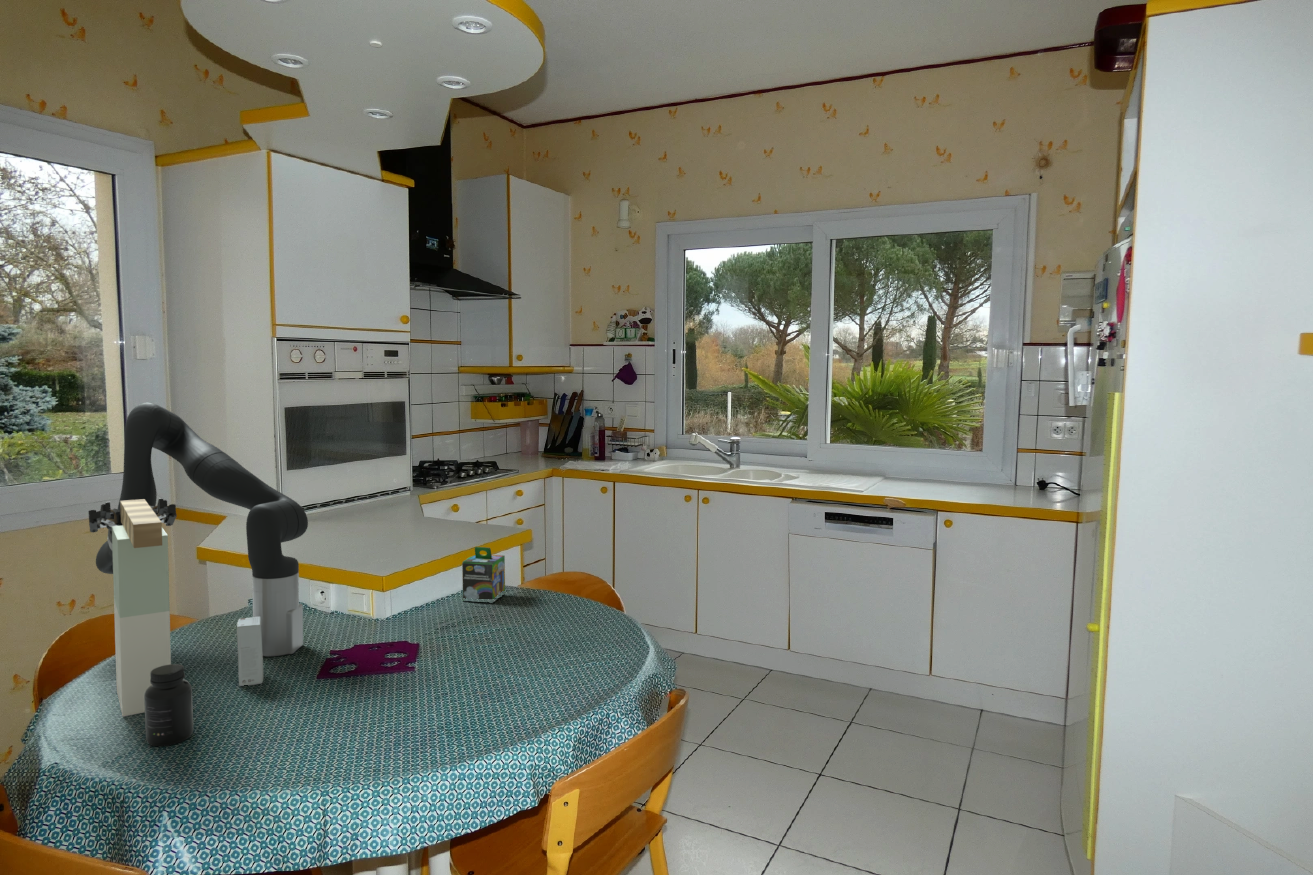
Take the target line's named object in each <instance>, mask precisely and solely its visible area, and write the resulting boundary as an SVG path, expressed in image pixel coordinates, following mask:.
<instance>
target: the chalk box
mask: <svg viewBox="0 0 1313 875" xmlns="http://www.w3.org/2000/svg"><path fill="white" fill-rule="evenodd" d="M491 550H492V548H491V547H486V546H475V547H474V554H475V555H472V556H469V557H467V558H466V559H465V560H463V561H462V562H461V563H462V564H461V568H462V570H461V571H462V572H461V573H462V599H463V598H465V599H466V598H468V599H470V598H473V599H494V598H495V597H496V596H497V595H499V594H500V593H501V592H502V591H505V592H506V569H505V568H506V566H505V565H506V564H505V563H506V561H505V560H506V559H505V558H506V557H505V555H501V554H492V551H491ZM481 552H485V553H486V554H481Z"/></svg>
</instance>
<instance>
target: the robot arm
mask: <svg viewBox="0 0 1313 875" xmlns="http://www.w3.org/2000/svg"><path fill="white" fill-rule="evenodd" d="M123 448H124V449H123V450H124V451H123V473H122V474H123V475H122V484H121V485H122V486H121V491H120V495H119V501H118V505H117V508H116V507H115V508H112V509H111V501H105V503H104V504H101V505H100V510H99V511H97V510H96V509H90V510H88V525H89V533H98V532H99V530H101V529H102V528H106V529H107V540H106V541H105V542H104V543H103V544H102V545H101V546H100V548H99V549H98V551H97V553H96V556H95V557H96V558H95V566H96V568H97V569H98V571H99V572H101V573H103V574H107V575H113V550H112V526H122V523H121V514H120V501H124V500H140V499H145V500H146V502H147V503H148V504H149V506H150V507H151V509H152V510H153V511H154V513H155V514H156V515H157V517H158V518H159V519H160V521H161V522H162V524H164V525H165V526H166V527H172V526H173V525H174V523H175V520H176V519H177V509H176V508H177V507H176V504H173V503H172V504H169V505H168V500H167V499H164V497H158V496H157V494H158V493H157V486H156V482H155V478H154V474H153V473H154V472H153V466H152V451H153V449H155V450H158V451H160V452H163V453H164V454H166V455H167V456H169V457H171V458H172V459H174V460H175V461H177V462H178V463H179V464H180V465H181V466H182V468H183V470H184V473H185V474H186V475H187V477H188V478H189V480H190V481H192V483H194V484H195V485H196V486H197V487H198V488H200V489H201V490H202V491H204V492H205V493H206V494H208V495H209V496H211V497H213V498H215V499H217V500H220V501H222V502H225V503H228V504H232V505H235V506H238V507H241V508H244V509H248V510H249V512H248V514H247V517H246V525H245V529H246V530H245V531H246V534H245V535H246V543H247V544H246V545H247V559H248V562H249V564H250V568H251V573H252V576H251V577H252V578H251V579H252V617H261V633H262V654H263V657H277V656H284V655H292V654H295V652H297V650H298V649H300V648H301V647H302V646H304V632H303V631H304V612H303V611H304V610H303V607H304V606H303V604H302V603H300V588H299V587H300V582H299V580H300V574H299V570H300V569H299V568H300V567H299V564H300V563H299V560H298V559H297V558H295V557H293V556H287V555H284V554H283V550H282V543H286V542H290V541H294V540H296V539H298V538H300V537H302V536H303V535H304V534H305V533H306V532H307V530H308V526H309V520H308V515H307V513H306V511H305V510H304V509H303V507H302V506H301V505H300V504H299V503H298V502H297V501H296V500H294V499H292V497H289V496H287V495H285V494H284V493H282V492H280V491H278V489H275V488H273V487H272V486H270V485H269V484H267V483H265V482H264V481H263V480H261V479H260V478H259V477H257V476H256V475H255V474H253V473H252V472H251V471H249V470H248V469H246V468H245V467H244V466H242V465H241V463H239V461H236V460H235V459H234V458H233V457H232V456H230V455H228V453H226V452H224V451H223V450H221V449H220V448H218V447H217V446H215V445H214V444H211V443H209V442H207V441H206V440H204V439H203V438H201V437H200V436H199V435H198V434H197V433H196V432H195V430H193V428H191V427H190V426H189V425H188V424H187V423H186V421H184V419H182V417H180V416H179V415H177V414H175V413H174V412H172V411H171V410H168V409H166V408H164V407H162V406H160V405H158V404H156V403H153V402H143V403H140V404H137V405H136V406H134V408H132V410H131V411H130V412H129V414H128V416H127V417H126V421H125V429H124V447H123ZM157 497H158V498H157Z"/></svg>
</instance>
